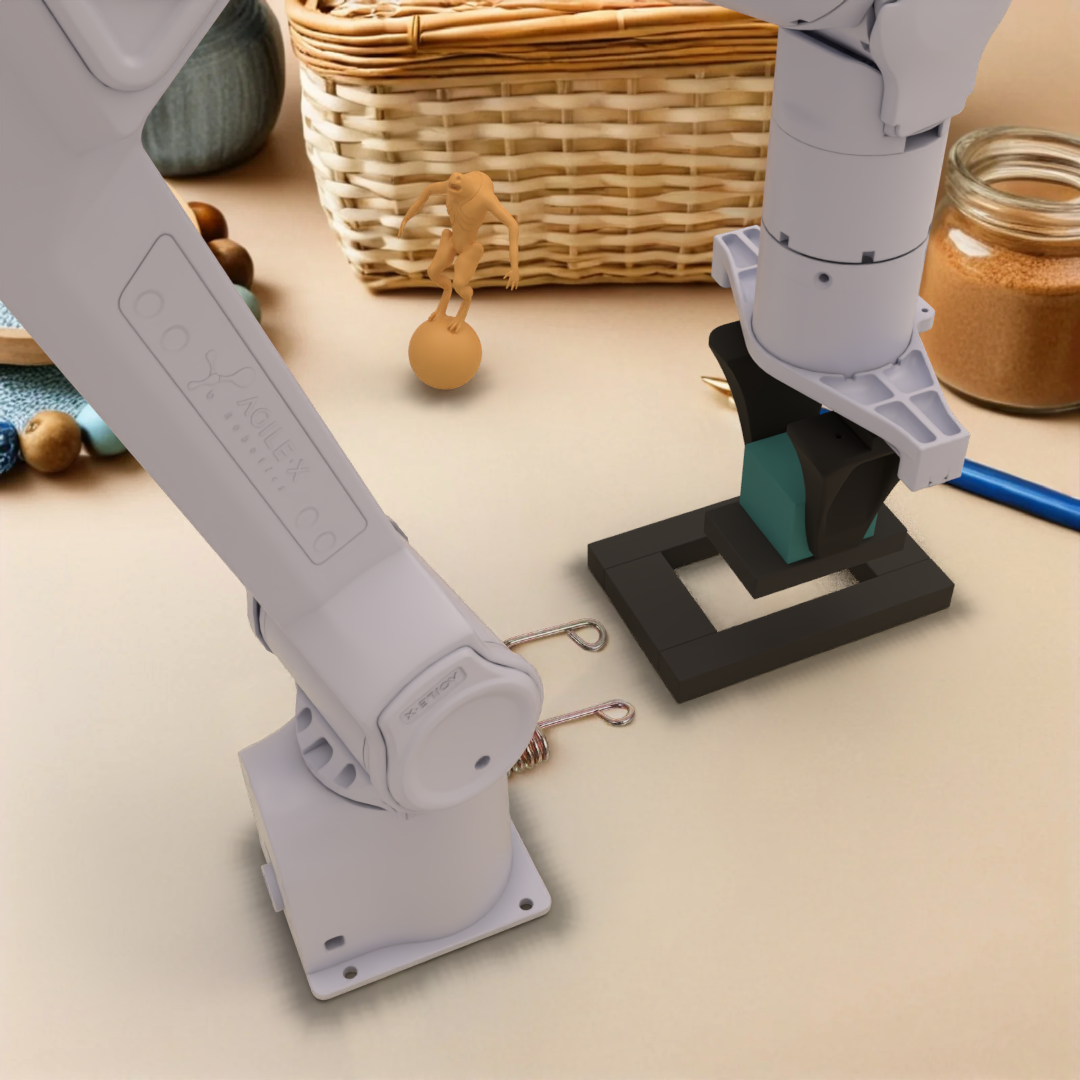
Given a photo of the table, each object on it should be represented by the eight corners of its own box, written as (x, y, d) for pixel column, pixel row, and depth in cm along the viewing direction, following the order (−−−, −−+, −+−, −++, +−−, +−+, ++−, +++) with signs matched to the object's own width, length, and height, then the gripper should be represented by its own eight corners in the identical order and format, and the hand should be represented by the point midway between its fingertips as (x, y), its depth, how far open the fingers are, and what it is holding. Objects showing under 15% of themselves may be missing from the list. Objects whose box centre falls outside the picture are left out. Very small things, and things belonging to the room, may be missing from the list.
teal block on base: (753, 600, 58) (762, 519, 55) (702, 531, 61) (708, 451, 58) (904, 550, 60) (920, 469, 57) (847, 485, 62) (860, 405, 59)
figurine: (368, 370, 81) (343, 177, 72) (442, 321, 84) (426, 131, 76) (479, 429, 77) (466, 231, 68) (552, 375, 80) (548, 180, 72)
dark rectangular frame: (678, 704, 63) (679, 681, 62) (587, 566, 69) (586, 543, 68) (949, 607, 67) (955, 584, 66) (840, 484, 73) (843, 461, 72)
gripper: (1077, 300, 46) (995, 600, 55) (835, 105, 56) (800, 388, 65) (885, 356, 44) (834, 657, 53) (670, 144, 54) (658, 429, 63)
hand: (805, 512), depth 59 cm, fingers closed on teal block on base, 4 cm apart
